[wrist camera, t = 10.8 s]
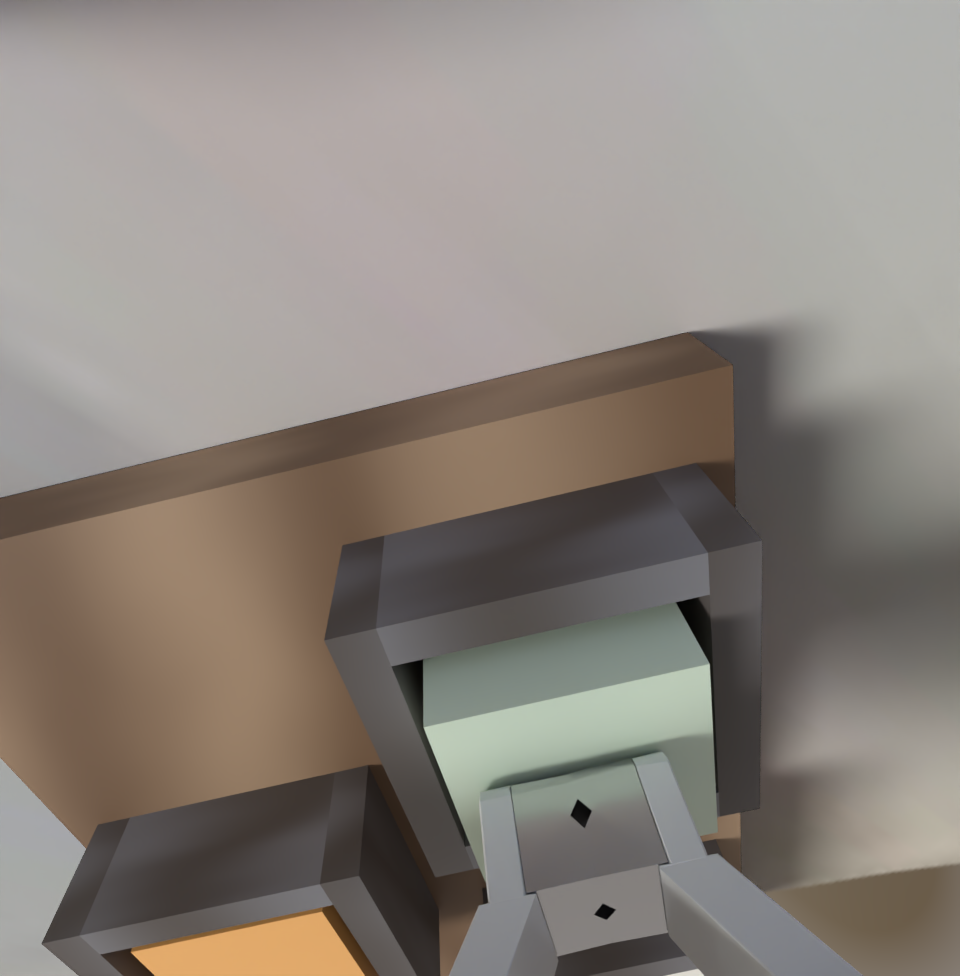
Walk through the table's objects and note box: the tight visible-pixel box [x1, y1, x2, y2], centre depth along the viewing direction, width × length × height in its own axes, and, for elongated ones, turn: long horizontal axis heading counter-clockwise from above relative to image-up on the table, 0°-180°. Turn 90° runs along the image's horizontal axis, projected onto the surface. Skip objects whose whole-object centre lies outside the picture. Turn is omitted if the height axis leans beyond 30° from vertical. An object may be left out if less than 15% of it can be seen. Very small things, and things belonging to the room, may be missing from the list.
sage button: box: [423, 602, 718, 882], centre depth 11 cm, size 4×4×2 cm
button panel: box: [0, 333, 762, 976], centre depth 16 cm, size 16×22×4 cm
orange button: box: [131, 905, 379, 976], centre depth 15 cm, size 4×4×2 cm
